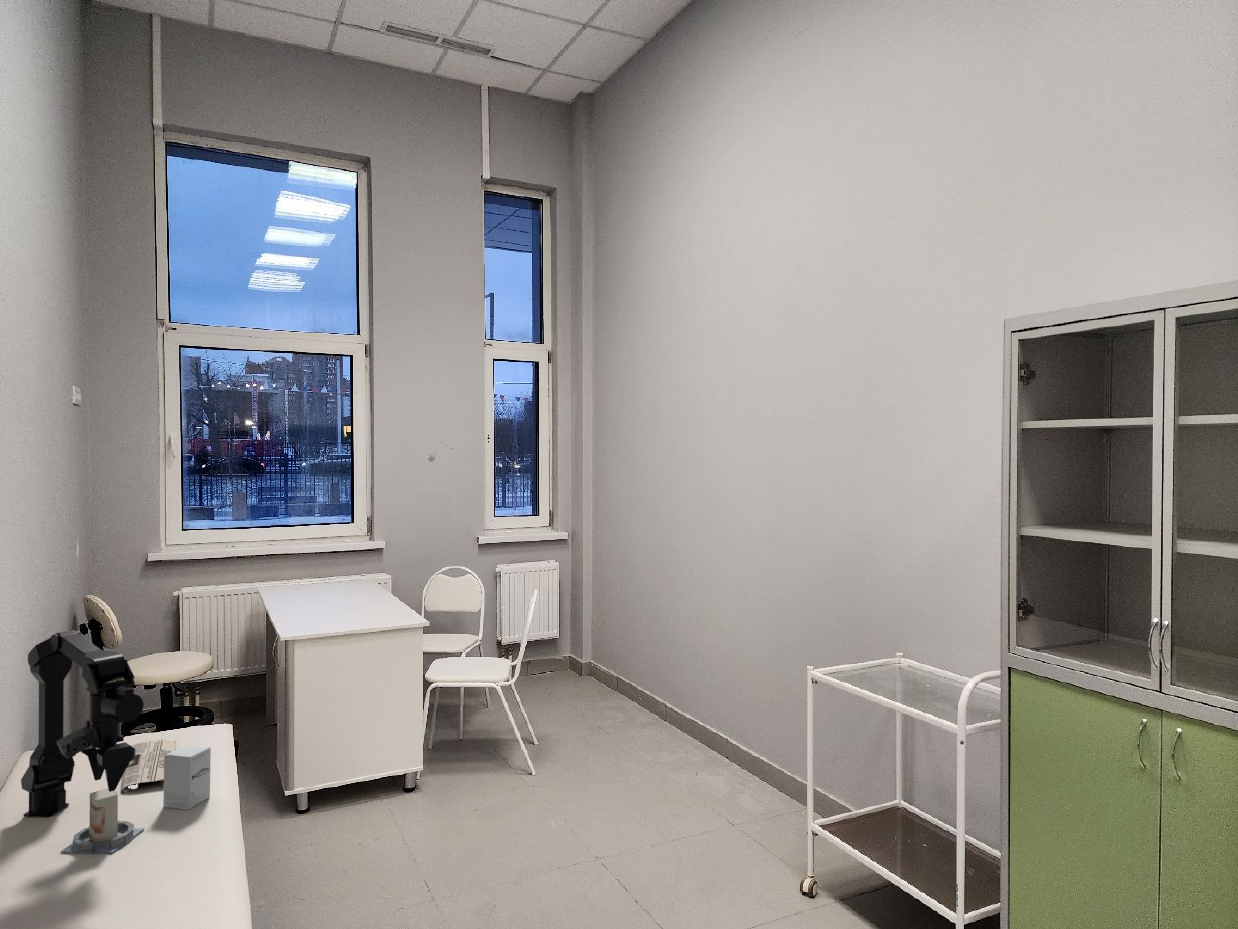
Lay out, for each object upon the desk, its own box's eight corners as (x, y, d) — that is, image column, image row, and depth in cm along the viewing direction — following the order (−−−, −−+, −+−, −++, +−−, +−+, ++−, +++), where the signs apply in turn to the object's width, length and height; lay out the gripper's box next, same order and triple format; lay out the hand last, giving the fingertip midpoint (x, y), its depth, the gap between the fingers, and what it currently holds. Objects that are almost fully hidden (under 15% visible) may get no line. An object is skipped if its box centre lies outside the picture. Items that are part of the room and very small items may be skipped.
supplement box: (189, 810, 188) (189, 757, 188) (162, 807, 190) (162, 754, 190) (211, 797, 195) (211, 746, 195) (185, 795, 197) (185, 744, 197)
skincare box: (88, 839, 173) (88, 792, 173) (111, 832, 176) (112, 787, 176) (94, 847, 169) (94, 800, 169) (118, 840, 172) (118, 794, 172)
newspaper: (126, 752, 227) (126, 739, 227) (176, 744, 233) (176, 732, 233) (120, 797, 196) (120, 783, 196) (178, 787, 202) (178, 773, 202)
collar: (60, 853, 167) (60, 844, 167) (95, 829, 178) (96, 820, 178) (112, 854, 167) (112, 845, 167) (144, 830, 178) (144, 821, 178)
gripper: (48, 713, 172) (48, 785, 172) (75, 732, 160) (74, 809, 160) (107, 702, 181) (106, 770, 181) (136, 719, 169) (136, 792, 169)
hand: (104, 785), depth 172 cm, fingers open, 9 cm apart
